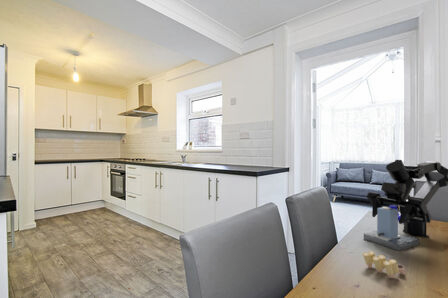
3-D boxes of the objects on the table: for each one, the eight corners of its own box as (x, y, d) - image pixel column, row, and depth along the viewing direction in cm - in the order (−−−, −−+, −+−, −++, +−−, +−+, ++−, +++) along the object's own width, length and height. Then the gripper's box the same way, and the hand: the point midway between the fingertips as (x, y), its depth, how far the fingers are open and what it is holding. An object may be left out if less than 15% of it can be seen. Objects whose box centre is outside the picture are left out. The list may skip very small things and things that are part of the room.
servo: (387, 237, 89) (387, 204, 89) (400, 241, 85) (400, 207, 85) (372, 242, 84) (372, 207, 85) (384, 246, 80) (384, 210, 81)
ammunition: (388, 263, 59) (406, 258, 62) (361, 252, 65) (378, 248, 69) (388, 282, 58) (406, 275, 62) (361, 268, 65) (378, 263, 68)
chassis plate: (384, 233, 94) (384, 228, 94) (418, 244, 83) (418, 238, 83) (363, 238, 88) (363, 233, 88) (398, 250, 77) (398, 245, 77)
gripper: (369, 173, 95) (352, 201, 90) (423, 177, 79) (406, 212, 74) (379, 190, 99) (364, 218, 94) (434, 198, 82) (418, 232, 77)
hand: (385, 219), depth 84 cm, fingers open, 9 cm apart
